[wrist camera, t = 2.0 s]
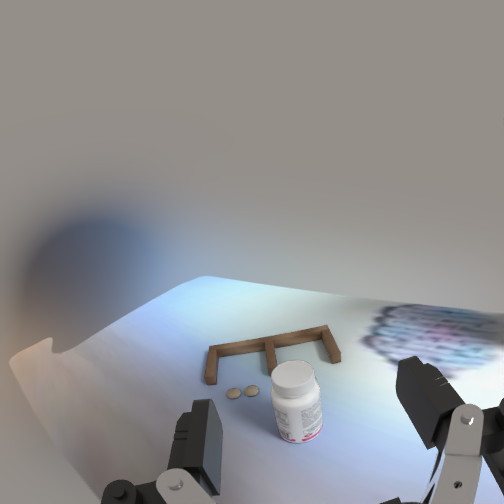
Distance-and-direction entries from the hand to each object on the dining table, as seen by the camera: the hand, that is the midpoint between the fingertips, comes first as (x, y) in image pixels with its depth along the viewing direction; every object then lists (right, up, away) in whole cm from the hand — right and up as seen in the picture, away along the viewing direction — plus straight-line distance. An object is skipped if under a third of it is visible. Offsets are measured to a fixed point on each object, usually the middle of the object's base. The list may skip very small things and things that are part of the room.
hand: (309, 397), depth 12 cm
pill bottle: (+3, -13, +18) cm, 22 cm away
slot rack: (0, -9, +30) cm, 31 cm away
